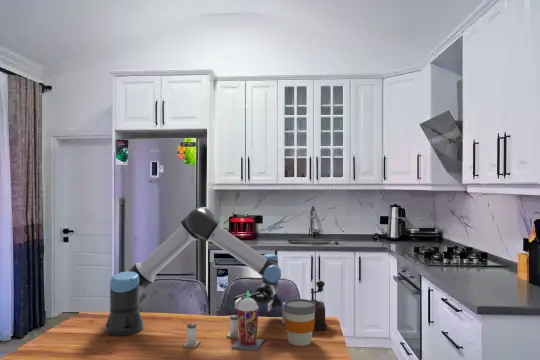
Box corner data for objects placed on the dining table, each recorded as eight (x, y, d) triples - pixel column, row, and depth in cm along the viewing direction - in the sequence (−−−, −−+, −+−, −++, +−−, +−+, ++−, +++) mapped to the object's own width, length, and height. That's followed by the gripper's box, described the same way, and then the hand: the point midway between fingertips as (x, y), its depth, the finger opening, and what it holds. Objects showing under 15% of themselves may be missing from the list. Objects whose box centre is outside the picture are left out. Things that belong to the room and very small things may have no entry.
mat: (231, 348, 153) (231, 346, 153) (239, 338, 163) (239, 337, 163) (257, 350, 151) (257, 348, 151) (263, 340, 161) (263, 339, 161)
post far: (226, 337, 164) (226, 317, 164) (230, 333, 169) (230, 313, 169) (238, 338, 163) (238, 318, 163) (241, 334, 168) (241, 314, 168)
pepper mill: (327, 330, 172) (327, 288, 172) (301, 330, 172) (301, 287, 173) (324, 319, 187) (324, 279, 188) (300, 318, 188) (300, 279, 188)
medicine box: (300, 321, 184) (300, 302, 184) (299, 324, 179) (299, 305, 179) (282, 320, 185) (282, 301, 185) (282, 324, 180) (282, 304, 180)
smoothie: (258, 347, 153) (258, 293, 153) (236, 346, 153) (236, 293, 153) (259, 338, 161) (259, 288, 161) (238, 338, 161) (238, 288, 161)
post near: (182, 347, 154) (182, 325, 154) (188, 342, 159) (188, 321, 159) (195, 348, 153) (195, 326, 153) (200, 343, 158) (200, 322, 158)
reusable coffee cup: (289, 349, 152) (289, 308, 152) (279, 337, 164) (279, 299, 165) (320, 345, 156) (320, 306, 156) (309, 334, 168) (308, 297, 168)
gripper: (292, 303, 179) (282, 318, 159) (238, 299, 185) (222, 314, 164) (292, 286, 179) (282, 299, 159) (238, 283, 185) (222, 295, 165)
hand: (251, 306), depth 162 cm, fingers open, 13 cm apart
